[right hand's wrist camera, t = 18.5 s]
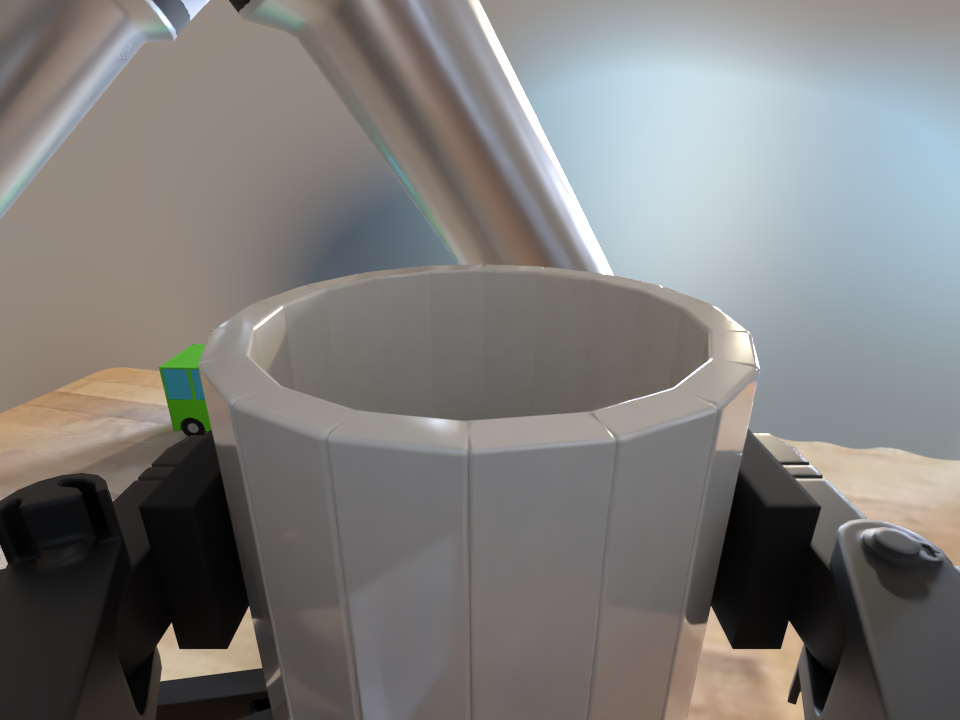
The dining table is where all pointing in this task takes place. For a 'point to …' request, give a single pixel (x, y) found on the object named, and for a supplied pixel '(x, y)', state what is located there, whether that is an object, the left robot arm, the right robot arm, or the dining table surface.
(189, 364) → the toy car
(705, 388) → the cup
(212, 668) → the dining table surface
